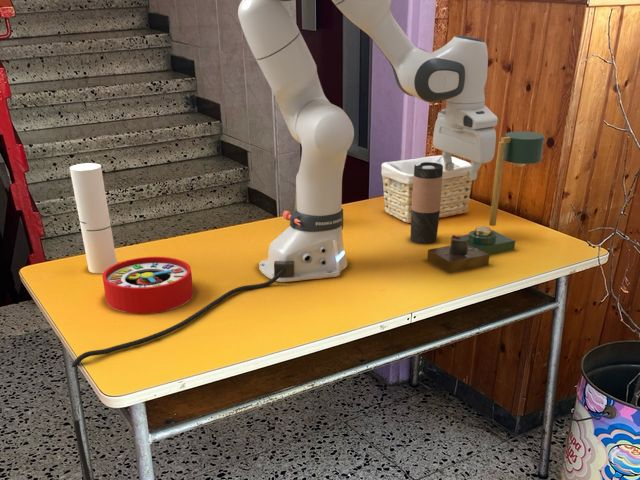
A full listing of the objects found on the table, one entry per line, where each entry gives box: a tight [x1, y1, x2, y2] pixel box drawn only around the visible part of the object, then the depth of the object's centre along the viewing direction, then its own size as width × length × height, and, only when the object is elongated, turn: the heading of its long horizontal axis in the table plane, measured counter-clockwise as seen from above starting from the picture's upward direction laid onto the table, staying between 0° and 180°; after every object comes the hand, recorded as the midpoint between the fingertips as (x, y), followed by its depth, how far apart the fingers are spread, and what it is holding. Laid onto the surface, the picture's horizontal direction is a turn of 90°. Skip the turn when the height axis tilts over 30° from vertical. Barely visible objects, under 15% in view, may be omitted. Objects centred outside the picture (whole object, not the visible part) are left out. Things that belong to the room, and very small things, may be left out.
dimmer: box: [426, 244, 491, 274], centre depth 187 cm, size 12×10×3 cm
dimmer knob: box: [449, 234, 469, 255], centre depth 185 cm, size 4×4×4 cm
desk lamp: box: [488, 130, 546, 227], centre depth 196 cm, size 13×10×22 cm
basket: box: [380, 154, 473, 224], centre depth 220 cm, size 24×16×15 cm
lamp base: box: [461, 229, 516, 256], centre depth 196 cm, size 12×10×4 cm
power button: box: [474, 225, 492, 237], centre depth 193 cm, size 4×4×2 cm
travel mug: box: [410, 162, 443, 245], centre depth 198 cm, size 8×8×20 cm
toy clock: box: [101, 256, 195, 315], centre depth 170 cm, size 20×6×20 cm
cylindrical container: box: [69, 162, 118, 274], centre depth 180 cm, size 7×7×25 cm
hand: (460, 174), depth 178 cm, fingers open, 8 cm apart
